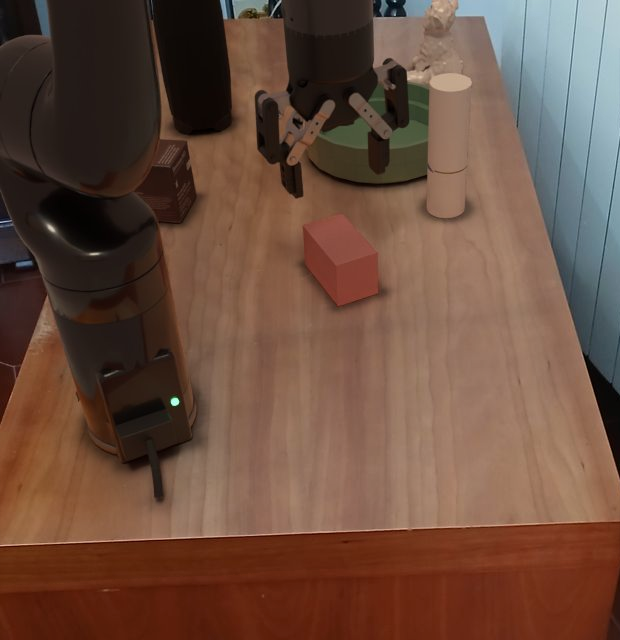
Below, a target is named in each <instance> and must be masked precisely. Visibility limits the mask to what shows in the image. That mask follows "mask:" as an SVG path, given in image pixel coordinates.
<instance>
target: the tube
mask: <svg viewBox="0 0 620 640" xmlns="http://www.w3.org/2000/svg"><path fill="white" fill-rule="evenodd" d="M472 87H473V82H472V79H471V78H470V77H469V76H467V75H465V74H463V75H461V74H456V73H446V74H440V75H437V76H435V77H433V78H432V79H431V80H430V90H429V127H428V169H427V176H426V211H427V213H428V214H429V215H431V216H433V217H436V218H439V219H453V218H456V217H459V216H461V215H462V214H463V213H464V212H465V209H466V194H467V192H466V191H467V175H468V174H467V173H468V157H469V138H470V123H471V122H470V121H471V105H472V104H471V103H472Z"/></svg>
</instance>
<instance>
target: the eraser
mask: <svg viewBox="0 0 620 640" xmlns="http://www.w3.org/2000/svg"><path fill="white" fill-rule="evenodd" d="M301 226H302V227H301V228H302V239H303V252H304V253H303V254H304V265H305V266H306V268H307V269H308V271H309V272H310V273H311V274H312V275H313V277H314V278H315V279H316V280H317V282H318V284H320V286H321V287H322V288H323V289H324V291H325V292H326V293H327V295H328V296H329V297H330V298H331V300H332V301H333V302H334V304H335V305H336V307H341V306H344V305H347V304H350V303H353V302H356V301H360V300H363V299H366V298H368V297H372V296H375V295H377V294H379V254H378V253H379V252H378V251H377V250H376V249H375V248H374V247H373V246H372V245H371V243H370V242H369V241H368V240H367V239H366V238H365V237H364V235H362V233H361V232H360V231H359V230H358V229H357V228H356V227H355V226H354V225H353V223H352V222H350V221H349V219H348V218H347V217H346V216H345V215H344V214H343V213H339V214H334V215H332V216H329V217H325V218H322V219H318V220H314V221H311V222H308V223H305V224H302V225H301Z"/></svg>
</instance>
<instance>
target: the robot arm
mask: <svg viewBox="0 0 620 640" xmlns="http://www.w3.org/2000/svg"><path fill="white" fill-rule="evenodd" d="M45 3H46V10H47V11H46V12H47V21H48V29H49V36H47V35H41V34H27V35H26V34H25V35H22V36H18V37H15V38H13V39H10V40H8V41H6V42H4V43H3V44H2V45H1V46H0V195H1V197H2V200H3V203H4V205H5V207H6V210H7V213H8V216H9V218H10V221H11V223H12V225H13V228H14V230H15V232H16V234H17V235H18V237H19V238H20V240H21V241H22V242H23V244H24V245H25V246H26V247H27V249H28V250H29V251H30V252H31V254H32V255H33V257H34V258H35V261H36V263H37V266H38V270H39V273H40V277H41V279H42V282H43V285H44V289H45V293H46V296H47V298H48V302H49V307H50V309H51V312H52V315H53V319H54V322H55V325H56V328H57V331H58V335H59V338H60V341H61V344H62V347H63V350H64V354H65V357H66V361H67V364H68V367H69V370H70V373H71V376H72V379H73V384H74V386H75V389H76V391H75V395H76V399H77V402H78V403H79V402H80V404H81V408H82V411H83V414H84V418H85V425H86V428H87V432H88V435H89V437H90V438H91V440H92V441H93V442H94V444H95V445H97V446H98V447H99V448H100V449H102V450H104V451H105V452H107V453H110V454H114V455H116V456H117V457H118V458H119V460H120V462H121V463H124V464H125V463H128V462H130V461H134V460H136V459H140V458H143V457H145V456H147V457H148V461H149V466H150V470H151V471H150V472H151V477H152V486H153V496H154V497H153V498H154V499H162V498H163V497H164V489H163V485H164V484H163V476H162V470H161V466H160V460H159V456H158V452H160V451H162V450H165V449H168V448H170V447H173V446H176V445H178V444H182V443H184V442H187V441H189V440H192V438H193V434H192V429H191V428H192V426H193V425H194V423H195V421H196V417H197V404H196V398H195V395H194V392H193V389H192V385H191V379H190V374H189V370H188V365H187V360H186V355H185V350H184V345H183V339H182V336H181V335H182V334H181V331H180V325H179V324H180V323H179V320H178V319H179V318H178V315H177V310H176V309H177V308H176V305H175V299H174V295H173V290H172V289H173V288H172V284H171V280H170V272H169V268H168V263H167V258H166V253H165V248H164V242H163V237H162V232H161V228H160V224H159V221H158V220H157V218H156V215H155V213H154V212H153V210H152V209H151V207H150V206H149V205H148V204H147V203H146V202H145V201H144V200H143V199H142V198H141V197H140V196H139V195H137V194H136V193H135V192H134V190H135V189H136V188H137V187H138V186H139V185H140V184H141V183H142V182H143V181H144V179H145V178H146V176H147V175H148V173H149V172H150V169H151V167H152V165H153V162H154V160H155V158H156V154H157V150H158V146H159V141H160V139H161V131H162V123H163V122H162V120H163V119H162V115H163V114H162V94H161V93H162V92H161V84H160V77H159V67H158V59H157V53H156V52H157V51H156V44H155V38H154V30H153V29H154V28H153V21H152V15H151V7H150V1H149V0H45ZM280 12H281V16H282V20H283V34H284V43H285V44H284V45H285V56H286V65H287V66H286V67H287V74H288V82H287V85H286V88H285V90H283V91H279V92H273V93H268V92H267V91H266V90H264V89H260V90H257V92H256V93H255V94H254V110H255V112H254V113H255V129H256V130H255V131H256V149H257V151H258V152H259V154H260V155H261V156H262V157H263V158H264V159H265V160H266V161H267V162H268V164H270V165H276V164H277V163H278V164H279V170H280V171H279V172H280V181H281V186H282V187H283V189H284V190H285V191H286V192H287V193H288V195H292V197H293V198H294V199H295V200H298V199H301V198H303V197H304V196H305V195H304V181H303V172H302V171H303V170H302V163H301V162H300V160H301V158H302V156H303V154H304V153H305V150H307V146H308V145H311V144H312V143H313V141H314V140H315V138H316V136H317V134H318V133H319V131H320V130H321V131H322V132H327V131H330V130H332V129H334V128H336V127H338V126H349V125H352V124H354V121H355V120H357V119H358V118H359V116H360V117H361V118H362V119H363V120H364V121H365V122H366V123H367V124H368V125H369V126H370V127H371V131H370V132H368V163H369V167H370V168H371V170H373V171H374V172H375V173H376V174H377V175H380V174H383V173H385V167H387V166H388V165H389V162H390V156H389V155H390V152H389V151H390V136H391V135H392V132H393V131H394V130H396V129H398V128H399V127H400V128H405V127H407V126H408V124H409V103H408V84H407V71H408V70H407V69H406V67H404V66H403V65H402V64H400V63H399V62H397V60H394V59H393V58H391V57H387V58H386V59H384V60H383V62H382V65H379V66H376V67H374V63H375V40H374V39H375V37H374V33H375V32H374V0H281V5H280ZM378 82H379V83H380V85H381V86H382V87H383V88H384V95H385V109H386V113H385V114H383V115H382V116H380V115H379V114H378V113H377V112H376V111H375V110H374V109H373V108H372V107H371V106H370V105H369V104H368V101H369V99H370V97H371V96H372V94H373V92H374V90H375V89H376V87H377V84H378ZM289 106H291V108H292V109H293V110H292V112H291V113H290V116H289V118H288V119H287V121H286V123H285V131H284V133H283V134H282V136H281V138H280V120H282V119H283V118H284V114H285V110H286V108H287V107H289ZM305 121H306V122H307V124H306V126H305V125H304V123H305ZM303 125H304V127H303Z"/></svg>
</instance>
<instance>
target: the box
mask: <svg viewBox="0 0 620 640" xmlns="http://www.w3.org/2000/svg"><path fill="white" fill-rule="evenodd" d="M188 145H189V144H188V140H185V139H183V140H182V139H166V138H165V139H162V138H160V141H159V146H158V150H157V154H156V158H155V160H154V162H153V165H152V167H151V169H150V172H149V173H148V175H147V176H146V178H145V179H144V181H143V182H142V183H141V184H140V185H139V186H138V187H137V188H136V189H135V190H134V192H135V193H136V194H137V195H139V196H140V197H141V198H142V199H143V200H144V201H145V202H146V203H147V204H148V205H149V206H150V207H151V209H152V210H153V212H154V213H155V215H156V218H157V220H158V222H166V223H181V222H183V220H184V219H185V217H186V216H187V213H188V212H189V210H190V209H191V207H192V205H193V203H194V202H195V200H196V198H197V190H196V186H195V178H194V173H193V167H192V161H191V156H190V151H189V147H188Z"/></svg>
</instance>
